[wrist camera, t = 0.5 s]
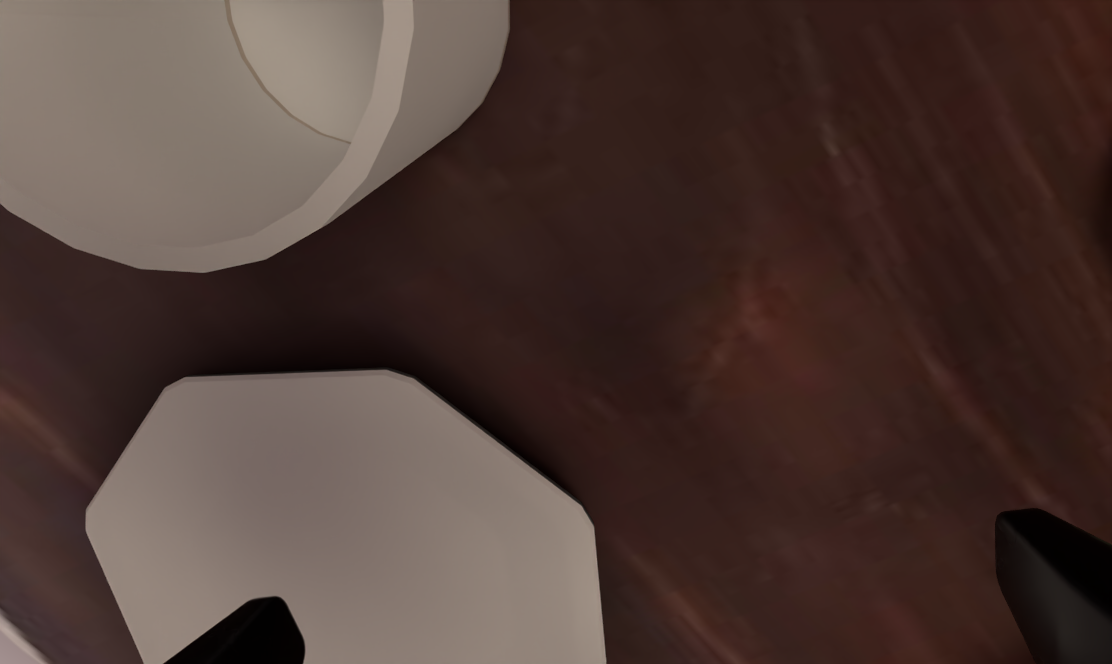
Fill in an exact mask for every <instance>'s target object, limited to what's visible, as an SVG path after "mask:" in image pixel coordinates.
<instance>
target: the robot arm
mask: <svg viewBox="0 0 1112 664" xmlns="http://www.w3.org/2000/svg"><path fill="white" fill-rule="evenodd" d="M995 550H996V574H997V579H998V583H999V586H1000V589H1001V591H1002V593H1003V596H1004V598H1005V600H1006V602H1007V604H1008V606H1009V608H1010V610H1011V612H1012V614H1013V616H1014V619H1015V621H1016V623H1017V625H1018V627H1019V629H1020V631H1021V633H1022V635H1023V637H1024V640H1025V642H1026V644H1027V646H1028V648H1029V650H1030V652H1031V654H1032V656H1033V658H1034V660H1035V663H1036V664H1112V545H1111V544H1109V543H1107V542H1105V541H1103V540H1101V539H1099V538H1097V537H1095V536H1094V535H1092V534H1090V533H1088V532H1086V531H1084V530H1082V529H1080V528H1078V527H1076V526H1074V525H1072V524H1070V523H1068V522H1066V521H1064V520H1062V519H1060V518H1058V517H1056V516H1054V515H1052V514H1050V513H1048V512H1046V511H1044V510H1041V509H1037V508H1030V509H1021V510H1013V511H1004V512H1001V513H1000V514H999V515H998V516H997V518H996V522H995ZM305 651H306V650H305V641H304V638H303V635H302V633H301V631H300V629H299V627H298V625H297V623H296V621H295V619H294V617H293V615H292V613H291V611H290V609H289V607H288V605H287V603H286V602H285V600H283V599H282V598H281V597H278V596H269V597H260V598H254V599H251V600H249V601H247V602H246V603H244V604H243V605H242V606H240V607H239V608H237V609H236V610H235V611H233V612H232V613H231V614H229V615H228V616H227V617H225V618H224V619H223V620H221V621H220V622H219V623H217V624H216V625H215V626H213V627H212V628H210V629H209V630H208V631H206V632H205V633H204V634H202V635H201V636H200V637H198V638H197V639H196V640H194V641H193V642H192V643H190V644H189V645H188V646H186V647H185V648H183V649H182V650H181V651H179V652H178V653H177V654H175V655H174V656H173V657H171V658H170V659H169V660H167V661H166V662H165V663H163V664H303V663H304V659H305Z"/></svg>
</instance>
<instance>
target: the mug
mask: <svg viewBox="0 0 1112 664" xmlns="http://www.w3.org/2000/svg"><path fill="white" fill-rule="evenodd" d="M509 31H510V0H0V204H1V205H2V206H4V207H5V208H6V209H7V210H8V211H10V212H11V213H13V214H15V215H17V216H18V217H20V218H22V219H24V220H25V221H27V222H29V223H31V224H32V225H34V226H36V227H38V228H39V229H41V230H43V231H45V232H46V233H48V234H50V235H52V236H54V237H55V238H57V239H59V240H61V241H62V242H64V243H66V244H68V245H69V246H71V247H73V248H75V249H78V250H82V251H85V252H88V253H91V254H94V255H97V256H101V257H104V258H107V259H110V260H113V261H116V262H120V263H123V264H126V265H129V266H132V267H135V268H139V269H150V270H167V271H183V272H199V273H206V272H211V271H215V270H220V269H224V268H229V267H233V266H238V265H243V264H247V263H252V262H256V261H261V260H265V259H267V258H269V257H271V256H273V255H275V254H276V253H278V252H280V251H282V250H283V249H285V248H287V247H289V246H290V245H292V244H294V243H296V242H297V241H299V240H301V239H303V238H304V237H306V236H308V235H310V234H311V233H313V232H315V231H317V230H318V229H320V228H322V227H324V226H325V225H327V224H329V223H330V222H331V221H333V220H334V219H336V218H337V217H338V216H340V215H341V214H342V213H344V212H345V211H346V210H348V209H349V208H350V207H352V206H353V205H355V204H356V203H357V202H359V201H360V200H361V199H363V198H364V197H365V196H367V195H368V194H369V193H371V192H372V191H374V190H375V189H376V188H378V187H379V186H380V185H382V184H383V183H384V182H386V181H387V180H388V179H390V178H391V177H393V176H394V175H395V174H397V173H398V172H399V171H401V170H402V169H403V168H405V167H406V166H407V165H409V164H410V163H412V162H413V161H414V160H416V159H417V158H418V157H420V156H421V155H422V154H424V153H425V152H426V151H428V150H429V149H431V148H432V147H433V146H435V145H436V144H437V143H439V142H440V141H441V140H443V139H444V138H445V137H447V136H448V135H450V134H451V133H452V132H454V131H455V130H457V129H458V128H459V127H460V126H461V125H462V124H463V123H464V122H465V121H466V120H467V119H468V118H469V117H470V115H471V114H472V113H473V112H474V111H475V110H476V109H477V108H478V107H479V106H480V105H481V104H482V103H483V101H484V99H485V97H486V95H487V93H488V91H489V90H490V88H491V86H492V84H493V82H494V80H495V78H496V76H497V75H498V73H499V71H500V68H501V64H502V60H503V56H504V52H505V48H506V43H507V39H508V35H509Z"/></svg>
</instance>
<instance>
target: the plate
mask: <svg viewBox="0 0 1112 664" xmlns="http://www.w3.org/2000/svg"><path fill="white" fill-rule="evenodd" d="M86 533H87V535H88V537H89V540H90V542H91V544H92V547H93V549H94V551H95V553H96V556H97V558H98V560H99V562H100V565H101V567H102V569H103V571H104V574H105V576H106V578H107V581H108V583H109V585H110V587H111V590H112V592H113V594H114V596H115V599H116V601H117V603H118V605H119V608H120V610H121V612H122V615H123V617H124V619H125V621H126V624H127V626H128V628H129V630H130V633H131V635H132V637H133V640H134V642H135V644H136V646H137V649H138V651H139V653H140V655H141V658H142V660H143V662H144V664H163V663H165V662H166V661H167V660H169V659H170V658H171V657H173V656H174V655H175V654H177V653H178V652H179V651H181V650H182V649H183V648H185V647H186V646H188V645H189V644H190V643H192V642H193V641H194V640H196V639H197V638H198V637H200V636H201V635H202V634H204V633H205V632H206V631H208V630H209V629H210V628H212V627H213V626H215V625H216V624H217V623H219V622H220V621H221V620H223V619H224V618H225V617H227V616H228V615H229V614H231V613H232V612H233V611H235V610H236V609H237V608H239V607H240V606H242V605H243V604H244V603H246V602H247V601H249V600H251V599H254V598H260V597H269V596H278V597H281V598H282V599H283V600H285V602H286V603H287V605H288V607H289V609H290V611H291V613H292V615H293V617H294V619H295V621H296V623H297V625H298V627H299V629H300V631H301V633H302V635H303V638H304V641H305V650H306V651H305V659H304V663H303V664H607V662H606V651H605V640H604V629H603V618H602V607H601V596H600V585H599V574H598V564H597V553H596V542H595V531H594V522H593V521H592V519H591V517H590V516H589V514H588V512H587V511H586V509H585V507H584V506H583V504H582V502H580V501H579V500H578V499H577V498H575V497H574V496H573V495H571V494H570V493H569V492H567V491H566V490H565V489H563V488H562V487H561V486H559V485H558V484H557V483H555V482H554V481H553V480H552V479H550V478H549V477H548V476H546V475H545V474H544V473H542V472H541V471H540V470H538V469H537V468H536V467H534V466H533V465H532V464H530V463H529V462H528V461H526V460H525V459H524V458H523V457H521V456H520V455H519V454H517V453H516V452H515V451H513V450H512V449H511V448H509V447H508V446H507V445H505V444H504V443H503V442H501V441H500V440H499V439H498V438H496V437H495V436H494V435H492V434H491V433H490V432H488V431H487V430H486V429H484V428H483V427H482V426H480V425H479V424H478V423H476V422H475V421H474V420H472V419H471V418H470V417H469V416H467V415H466V414H465V413H463V412H462V411H461V410H459V409H458V408H457V407H455V406H454V405H453V404H451V403H450V402H449V401H447V400H446V399H445V398H444V397H442V396H441V395H440V394H438V393H437V392H436V391H434V390H433V389H432V388H430V387H429V386H428V385H426V384H425V383H424V382H422V381H421V380H420V379H419V378H417V377H416V376H413V375H410V374H407V373H404V372H401V371H398V370H395V369H392V368H389V367H385V368H358V369H332V370H305V371H279V372H252V373H226V374H199V375H188V376H186V377H184V378H182V379H180V380H178V381H176V382H174V383H172V384H170V385H168V386H167V387H165V388H164V390H163V391H162V393H161V394H160V396H159V397H158V399H157V400H156V402H155V404H154V405H153V407H152V408H151V410H150V411H149V413H148V414H147V416H146V417H145V419H144V421H143V422H142V424H141V425H140V427H139V428H138V430H137V431H136V433H135V434H134V436H133V438H132V439H131V441H130V442H129V444H128V445H127V447H126V448H125V450H124V451H123V453H122V455H121V456H120V458H119V459H118V461H117V462H116V464H115V465H114V467H113V468H112V470H111V471H110V473H109V475H108V476H107V478H106V479H105V481H104V482H103V484H102V485H101V487H100V488H99V490H98V492H97V493H96V495H95V496H94V498H93V499H92V501H91V502H90V504H89V505H88V507H87V509H86Z"/></svg>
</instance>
